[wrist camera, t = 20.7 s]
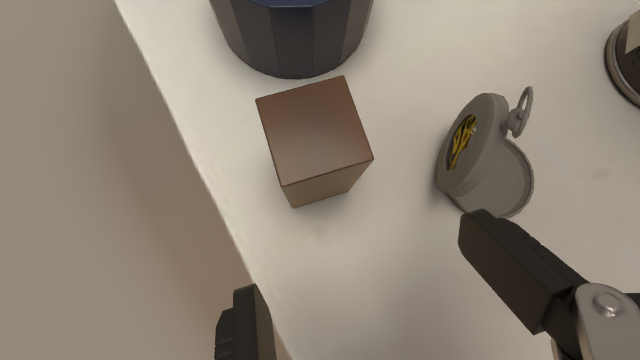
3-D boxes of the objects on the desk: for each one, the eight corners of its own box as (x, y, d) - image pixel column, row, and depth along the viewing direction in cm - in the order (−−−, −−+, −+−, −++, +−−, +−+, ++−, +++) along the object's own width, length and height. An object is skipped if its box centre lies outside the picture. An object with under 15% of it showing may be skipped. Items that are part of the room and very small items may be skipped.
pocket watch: (537, 208, 22) (717, 183, 12) (435, 236, 22) (540, 234, 12) (498, 111, 24) (631, 21, 14) (401, 134, 23) (469, 57, 13)
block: (330, 138, 23) (344, 74, 14) (348, 191, 22) (374, 159, 13) (275, 153, 22) (254, 98, 14) (292, 208, 22) (281, 187, 13)
